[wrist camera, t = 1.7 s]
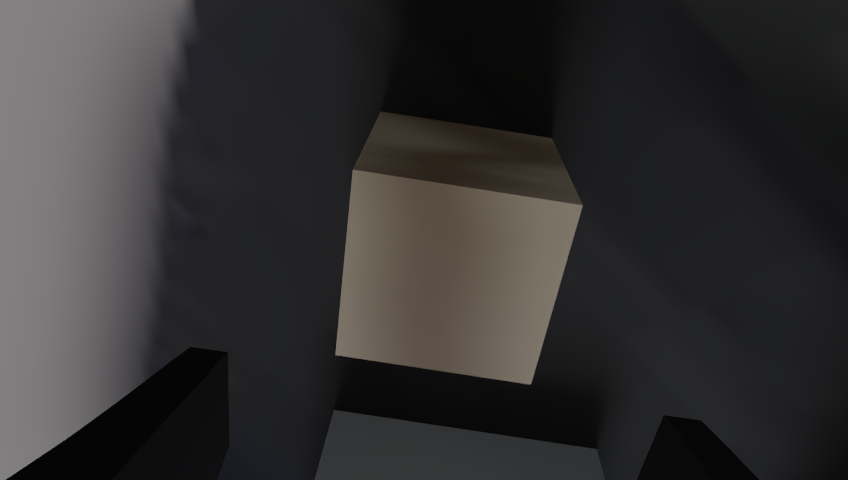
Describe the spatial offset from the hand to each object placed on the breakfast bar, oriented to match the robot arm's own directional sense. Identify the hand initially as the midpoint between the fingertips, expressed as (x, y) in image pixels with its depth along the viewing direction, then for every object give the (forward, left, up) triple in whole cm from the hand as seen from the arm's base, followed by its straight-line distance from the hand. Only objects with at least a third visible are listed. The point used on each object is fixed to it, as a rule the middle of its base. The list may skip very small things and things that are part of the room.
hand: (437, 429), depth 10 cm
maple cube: (0, 0, -10) cm, 10 cm away
